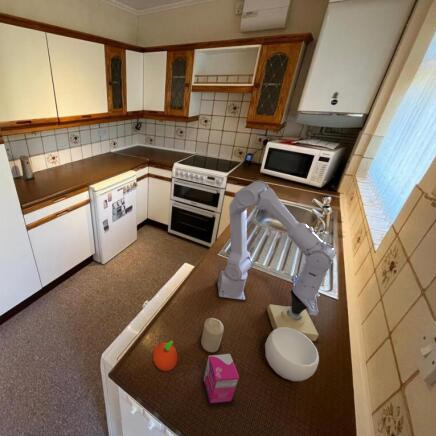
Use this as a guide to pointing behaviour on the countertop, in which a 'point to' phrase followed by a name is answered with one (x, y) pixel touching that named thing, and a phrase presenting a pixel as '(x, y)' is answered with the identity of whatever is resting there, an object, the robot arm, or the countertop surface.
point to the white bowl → (291, 354)
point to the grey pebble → (294, 315)
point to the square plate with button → (291, 321)
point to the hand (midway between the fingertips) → (295, 312)
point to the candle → (212, 334)
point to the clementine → (165, 356)
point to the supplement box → (220, 378)
